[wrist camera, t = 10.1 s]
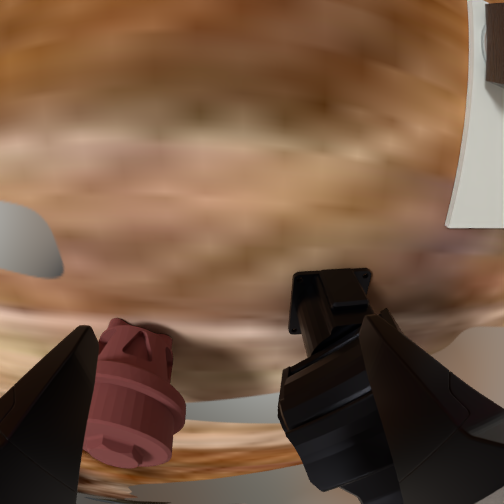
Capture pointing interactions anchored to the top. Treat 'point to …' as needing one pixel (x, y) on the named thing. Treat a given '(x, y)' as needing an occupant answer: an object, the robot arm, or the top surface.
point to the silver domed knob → (484, 43)
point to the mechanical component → (133, 399)
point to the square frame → (495, 43)
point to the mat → (479, 142)
